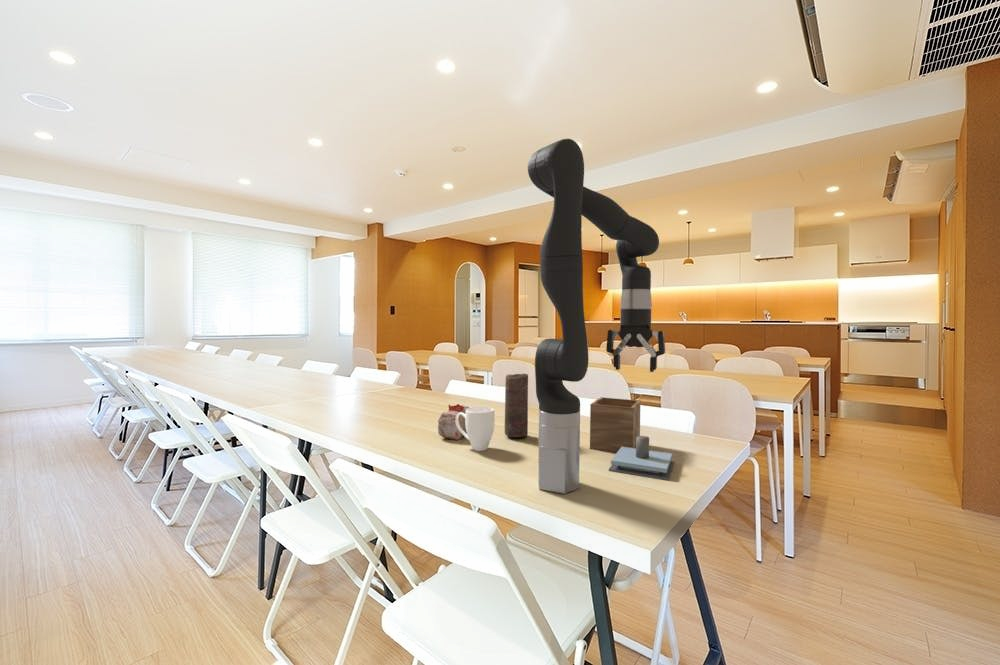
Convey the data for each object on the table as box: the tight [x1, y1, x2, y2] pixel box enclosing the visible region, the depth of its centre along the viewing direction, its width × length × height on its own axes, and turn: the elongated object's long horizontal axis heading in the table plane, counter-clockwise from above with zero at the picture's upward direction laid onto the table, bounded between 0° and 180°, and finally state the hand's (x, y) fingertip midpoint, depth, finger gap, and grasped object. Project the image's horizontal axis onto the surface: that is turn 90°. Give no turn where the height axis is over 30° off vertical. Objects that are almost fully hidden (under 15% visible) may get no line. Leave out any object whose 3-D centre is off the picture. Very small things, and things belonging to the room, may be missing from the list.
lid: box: [610, 435, 673, 474], centre depth 112 cm, size 13×13×7 cm
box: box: [589, 396, 641, 453], centre depth 129 cm, size 12×12×13 cm
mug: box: [455, 406, 495, 452], centre depth 127 cm, size 12×8×11 cm
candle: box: [504, 373, 529, 438], centre depth 138 cm, size 8×7×20 cm
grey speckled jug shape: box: [437, 403, 470, 441], centre depth 141 cm, size 14×8×10 cm, turn 166°
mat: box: [608, 460, 675, 481], centre depth 112 cm, size 14×14×1 cm
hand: (634, 370), depth 113 cm, fingers open, 8 cm apart
